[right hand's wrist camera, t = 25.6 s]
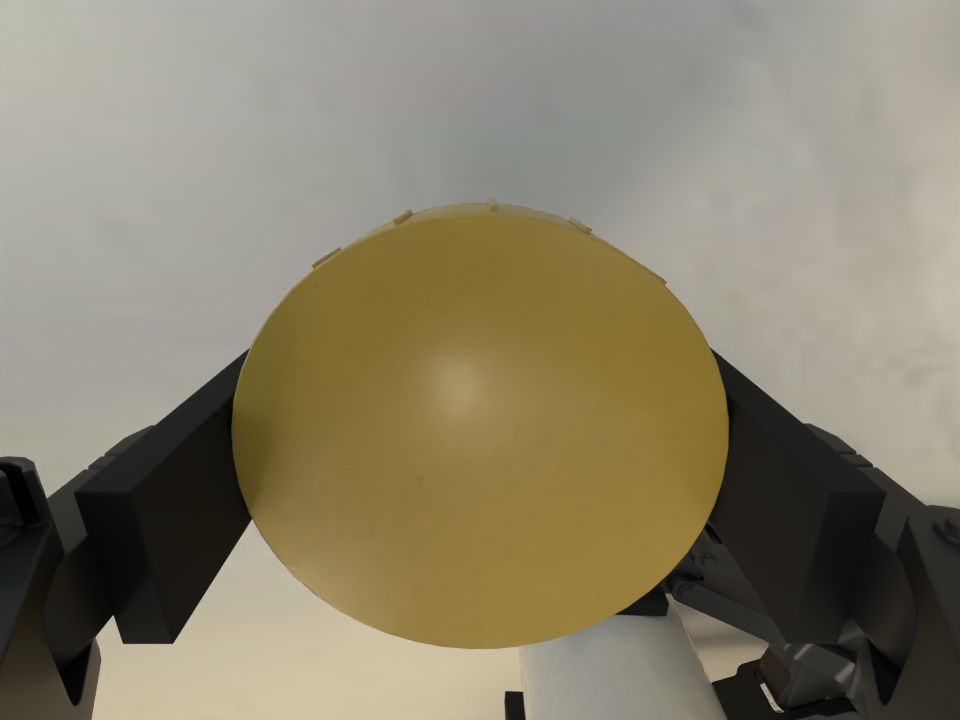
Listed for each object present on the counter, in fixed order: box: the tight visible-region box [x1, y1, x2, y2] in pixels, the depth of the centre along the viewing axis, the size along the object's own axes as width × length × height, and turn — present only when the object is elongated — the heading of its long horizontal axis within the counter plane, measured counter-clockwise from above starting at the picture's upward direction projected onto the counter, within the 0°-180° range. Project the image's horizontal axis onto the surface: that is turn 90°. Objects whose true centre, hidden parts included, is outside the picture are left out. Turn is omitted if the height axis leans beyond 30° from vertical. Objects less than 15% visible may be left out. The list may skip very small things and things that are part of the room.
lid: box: [231, 199, 729, 649], centre depth 11 cm, size 9×10×2 cm
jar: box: [518, 594, 728, 720], centre depth 24 cm, size 9×9×18 cm
